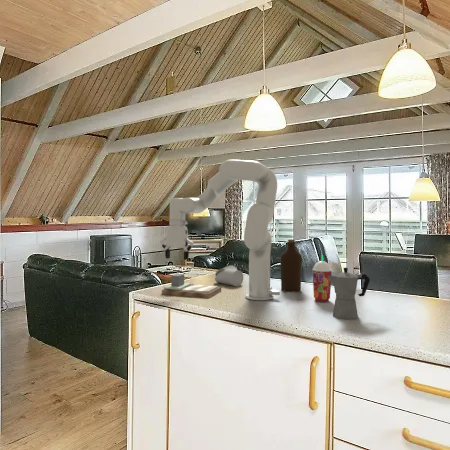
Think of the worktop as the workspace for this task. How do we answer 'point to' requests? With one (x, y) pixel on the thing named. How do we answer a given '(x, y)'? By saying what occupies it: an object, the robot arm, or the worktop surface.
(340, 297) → the coffeepot
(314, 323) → the worktop surface
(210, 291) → the ticket board
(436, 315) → the worktop surface
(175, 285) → the stub
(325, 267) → the smoothie
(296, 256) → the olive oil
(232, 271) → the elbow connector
